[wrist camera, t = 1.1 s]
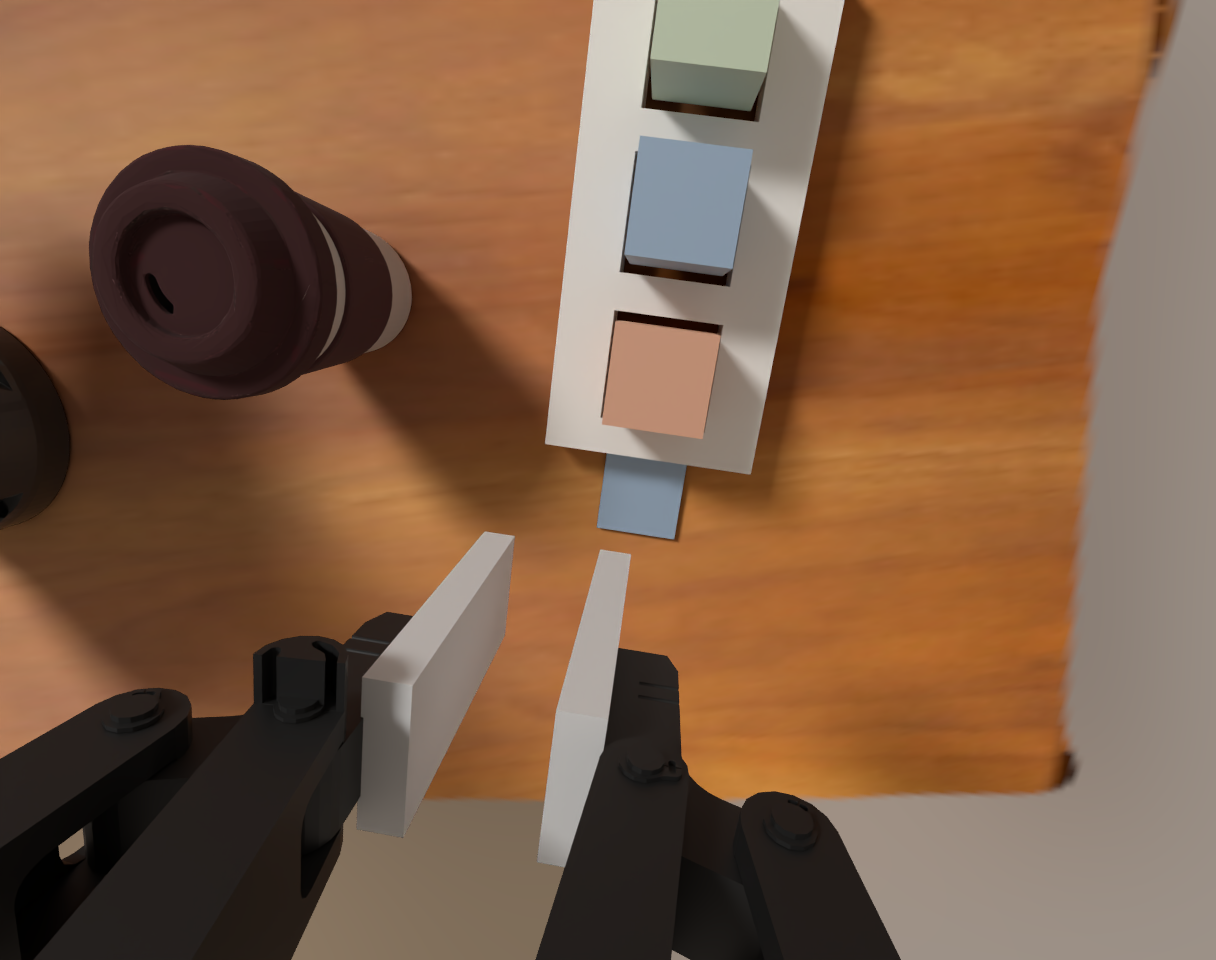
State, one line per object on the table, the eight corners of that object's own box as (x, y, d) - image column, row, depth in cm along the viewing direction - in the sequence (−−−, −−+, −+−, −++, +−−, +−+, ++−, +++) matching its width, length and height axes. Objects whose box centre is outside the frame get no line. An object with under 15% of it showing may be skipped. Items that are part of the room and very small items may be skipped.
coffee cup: (438, 212, 37) (295, 144, 23) (433, 382, 40) (300, 418, 25) (276, 196, 38) (34, 120, 23) (281, 364, 40) (65, 390, 26)
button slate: (630, 263, 34) (624, 254, 29) (643, 163, 33) (640, 135, 28) (722, 276, 34) (732, 269, 29) (739, 175, 33) (753, 149, 28)
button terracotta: (610, 409, 36) (601, 424, 31) (622, 320, 35) (615, 320, 30) (697, 422, 36) (702, 439, 31) (712, 333, 35) (720, 335, 30)
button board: (553, 434, 40) (545, 443, 37) (608, -51, 33) (603, -86, 30) (744, 463, 39) (750, 474, 36) (839, -25, 33) (856, -59, 30)
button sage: (652, 99, 32) (649, 58, 27) (667, -15, 31) (668, -80, 26) (750, 111, 32) (766, 72, 27) (770, -3, 31) (790, -67, 26)
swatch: (597, 525, 41) (596, 527, 41) (607, 450, 40) (607, 452, 39) (673, 537, 41) (674, 539, 40) (686, 462, 39) (686, 463, 39)
